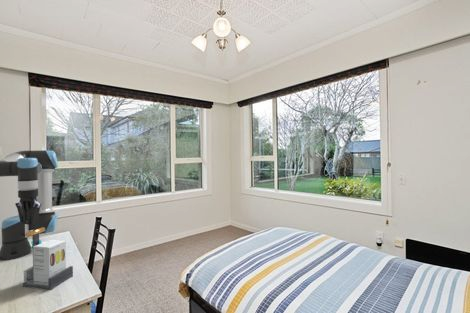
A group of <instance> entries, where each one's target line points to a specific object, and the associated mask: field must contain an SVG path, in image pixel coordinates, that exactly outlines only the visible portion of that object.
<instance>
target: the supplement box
mask: <svg viewBox="0 0 470 313" xmlns="http://www.w3.org/2000/svg"><path fill="white" fill-rule="evenodd" d="M43 242H44V243H41V244H39V245H36V246H33V247H32V262H33V261H34V281H39V282H47V283H48V279H49V278H50V277H52V276H54V275H56V274H57V273H59V272H61V271H63V270H65V269H66V268H67V241H66V240H58V239H49V240H45V241H43Z"/></svg>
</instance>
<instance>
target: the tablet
mask: <svg viewBox="0 0 470 313" xmlns="http://www.w3.org/2000/svg"><path fill="white" fill-rule="evenodd" d="M44 242H45V241H42V240H41V239H39V244H41V243H44ZM29 243H30V245H31V248H33V241H31V242H30V241H29Z"/></svg>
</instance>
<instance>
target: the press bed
mask: <svg viewBox="0 0 470 313" xmlns="http://www.w3.org/2000/svg"><path fill="white" fill-rule="evenodd" d="M73 276H74V267H73V266H72V265H69V267H66V269H65V270H63V271H61V272H59V273H57V274H56V275H54V276H52V277H50V278H49V279H48V283H47V282H39V281H34V278H32V279H30V280H29V281H27V282H26V281H23V283H21V284H22V287H24V288H32V289H40V290H49V291H51V290H53V289H55V288H56V287H58V286H59V285H61V284H63V283H64V282H66V281H68V280H69V279H71V278H72V277H73Z"/></svg>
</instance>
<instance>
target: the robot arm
mask: <svg viewBox="0 0 470 313" xmlns="http://www.w3.org/2000/svg"><path fill="white" fill-rule="evenodd" d="M56 168H58V158H57V154H56V152H55V151H54V150H47V149H46V150H43V149H41V150H20V151H15V152H13V153H12V152H11V153H10V154H8V155H6V156H5V158H2V159H0V178H1V177H2V178H3V177H17V190H18V191H17V197H18V198H19V202H16V203H14V204H15V207H16V208H17V213H18V215H14V216H10V217H7V218H5V219H4V220H2V222H1V227H0V229H1V247H0V260H1V261H5V260H6V261H7V260H15V259H17V258H22V257H24V256H26V255H29V254H31V252H33V247H31V245H30V243H31V242H30V241H29V238H30V237H32V236H30V237H26V233H27V232H30V231H33V230H36V229H39V228H42V227H44V228H45V231H44V232H41V233H39V235H47V234H50V233H53V232H55V230H56V227H57V224H58V215H59V214H58V213H56V211H55V210H54V209H53V173H54V172H55V171H56ZM29 242H30V243H29Z"/></svg>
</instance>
